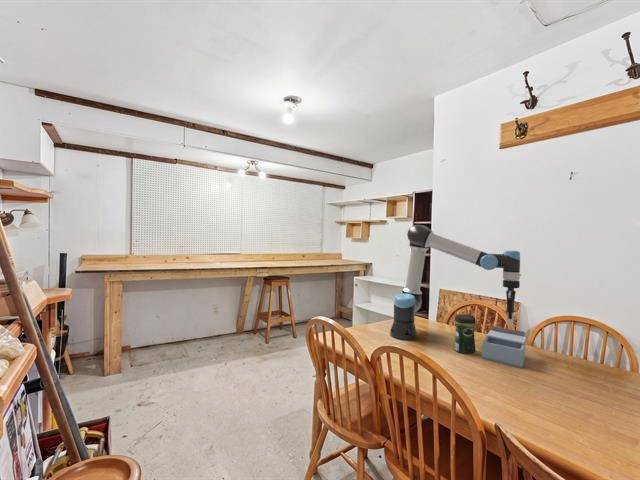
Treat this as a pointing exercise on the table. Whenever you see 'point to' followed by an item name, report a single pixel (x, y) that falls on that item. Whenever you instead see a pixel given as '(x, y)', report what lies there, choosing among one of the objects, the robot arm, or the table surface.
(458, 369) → the table surface
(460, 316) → the coffee jar
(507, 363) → the box
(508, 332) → the lid
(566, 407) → the table surface
